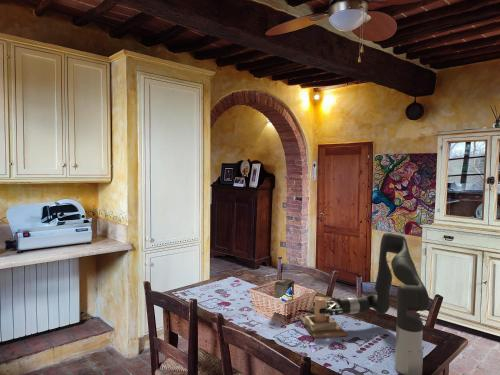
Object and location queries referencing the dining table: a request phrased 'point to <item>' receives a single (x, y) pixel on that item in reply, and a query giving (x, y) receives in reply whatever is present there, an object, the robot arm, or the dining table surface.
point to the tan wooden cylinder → (319, 304)
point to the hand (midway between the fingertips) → (316, 307)
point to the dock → (323, 327)
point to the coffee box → (283, 287)
